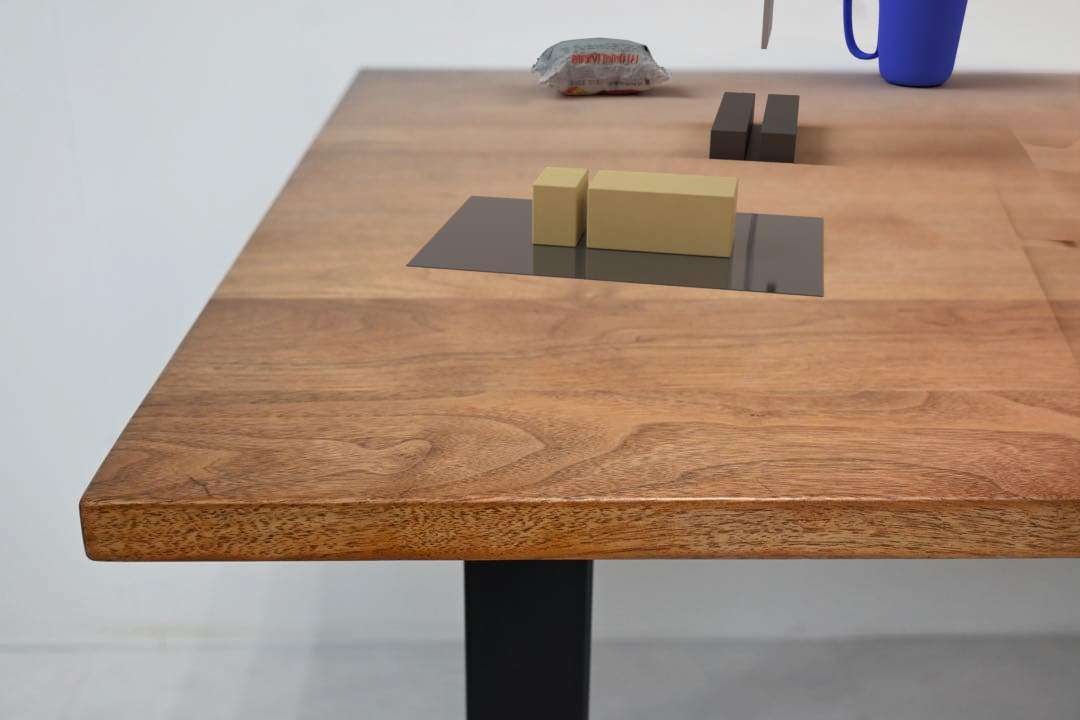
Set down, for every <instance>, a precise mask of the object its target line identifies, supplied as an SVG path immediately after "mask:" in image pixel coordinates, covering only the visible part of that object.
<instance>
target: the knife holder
mask: <svg viewBox="0 0 1080 720" xmlns="http://www.w3.org/2000/svg"><path fill="white" fill-rule="evenodd" d="M800 99H801V98H800V94H781V93H780V94H779V93H768V94H767V98H766V103H765V104H766V105H765V107H764V108H765V109H764V112H763V119H762V124H761V123H754V121H755V108H756V93H755V92H736V91H734V92H733V91H724V92H723V95H722V98H721V102H720V104H719V106H718V109H717V112H716V115H715V118H714V121H713V123H712V126H711V129H710V138H709V151H708V153H709V154H708V159H709V160H722V161H740V162H756V163H757V162H758V163H759V162H760V163H775V164H778V163H779V164H792V165H793V164H795V156H796V155H795V154H796V145H797V132H798V122H799V121H798V120H799V111H800V110H799V108H800Z"/></svg>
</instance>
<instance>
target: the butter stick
mask: <svg viewBox="0 0 1080 720" xmlns="http://www.w3.org/2000/svg"><path fill="white" fill-rule="evenodd" d="M739 181H740V180H739V178H738V177H735V176H734V177H732V176H716V175H698V174H682V173H681V174H679V173H663V172H647V171H628V170H611V169H599V170H598V171H597V173H596V175H595V176H594V178H593V179H592V181H591V183H590V184H589V185H588V203H587V248H597V249H611V250H626V251H640V252H655V253H669V254H684V255H698V256H713V257H727V258H729V257H730V256H731V251H732V246H733V242H734V237H735V226H736V212H738V211H737V210H738V198H739V197H738V195H739Z"/></svg>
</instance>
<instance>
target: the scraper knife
mask: <svg viewBox="0 0 1080 720" xmlns="http://www.w3.org/2000/svg"><path fill="white" fill-rule="evenodd" d="M774 1H775V0H763V14H762V28H761V42H760V44H761V45H760V49H761V50H767V49H768V47H769V46H768V45H769V42H770V39H771V38H770V37H771V34H772V29H773V19H774V5H775V4H774V3H775V2H774Z"/></svg>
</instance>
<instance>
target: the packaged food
mask: <svg viewBox="0 0 1080 720" xmlns="http://www.w3.org/2000/svg"><path fill="white" fill-rule="evenodd" d="M530 70H531V74H535V73H536V72H538V73H539V74H540V75H541V77H540V79H539V80H538V82H537V86H542V85H547V84H550V85H551V86H552V87H553V88H554V89H555V90H556V91H558V92H560V93H562V94H565V95H569V96H598V95H606V96H607V95H608V96H621V95H631V94H635V93H641V92H644V91H647V90H651V89H652V88H653V87H654V86H657V85H662V83H666V82H669V80H670V79H671V78H672V76H673V75H672V74H673V71H672V69H670V68H666V67H664V66H660V65H659V64H658V63H657V61H656V60H655V59H654V58H653V55H652V52H651V50H650V49H649V47H648V46H647V45H646V44H644V43H640V42H638V41H637V42H636V41H633V40H629V39H623V38H622V39H621V38H610V37H589V38H588V37H587V38H576V39H567V40H561V41H559V42H557V43H555V44H553V45H551V46H549V47H548V48H546V49H545V50H544V51H543V52H542V53H541V54H540V56H539V57H537V58H536V63H533V65H532V67H531V69H530Z"/></svg>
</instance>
